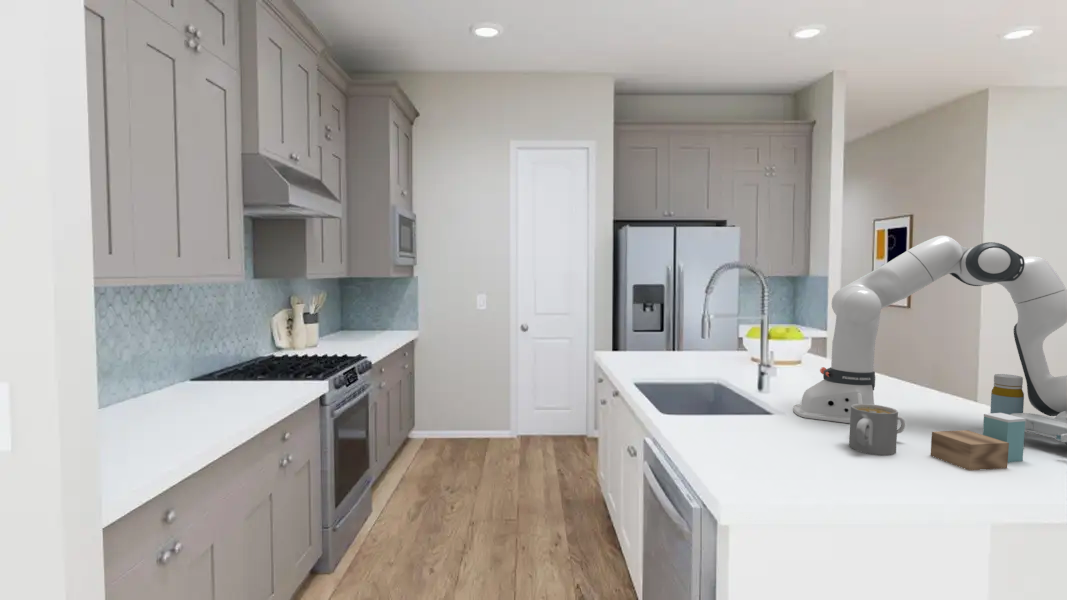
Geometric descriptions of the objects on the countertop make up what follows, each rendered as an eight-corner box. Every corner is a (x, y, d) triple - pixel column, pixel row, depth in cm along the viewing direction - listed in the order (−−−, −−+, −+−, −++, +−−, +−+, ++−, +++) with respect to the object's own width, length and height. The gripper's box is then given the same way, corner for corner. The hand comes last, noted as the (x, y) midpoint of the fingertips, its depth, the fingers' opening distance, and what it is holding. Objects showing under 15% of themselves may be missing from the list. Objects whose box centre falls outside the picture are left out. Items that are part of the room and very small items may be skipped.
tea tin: (1005, 462, 133) (1008, 420, 132) (981, 455, 138) (983, 413, 137) (1022, 461, 134) (1025, 418, 134) (998, 453, 139) (1000, 412, 139)
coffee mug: (864, 440, 148) (866, 402, 148) (904, 451, 140) (906, 411, 139) (831, 447, 142) (833, 407, 141) (871, 459, 133) (873, 417, 133)
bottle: (1010, 426, 164) (1012, 374, 163) (1028, 433, 157) (1031, 378, 156) (983, 425, 165) (986, 373, 164) (1001, 432, 158) (1003, 378, 157)
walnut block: (969, 471, 127) (970, 444, 127) (930, 456, 137) (931, 431, 137) (1007, 469, 129) (1008, 442, 129) (966, 454, 139) (967, 430, 138)
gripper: (1032, 405, 152) (993, 408, 149) (1130, 427, 133) (1088, 430, 129) (1030, 429, 153) (991, 432, 149) (1127, 453, 133) (1086, 458, 129)
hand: (1037, 431), depth 139 cm, fingers open, 8 cm apart
